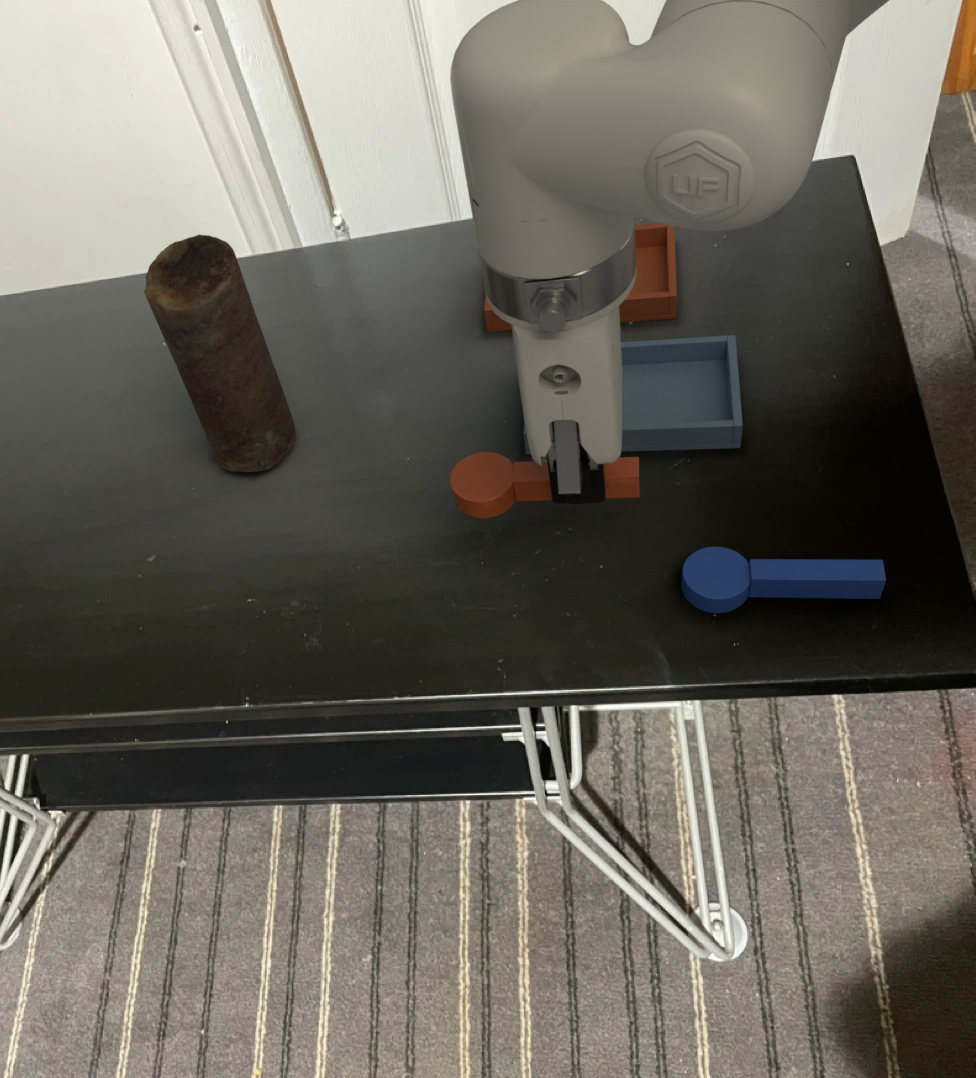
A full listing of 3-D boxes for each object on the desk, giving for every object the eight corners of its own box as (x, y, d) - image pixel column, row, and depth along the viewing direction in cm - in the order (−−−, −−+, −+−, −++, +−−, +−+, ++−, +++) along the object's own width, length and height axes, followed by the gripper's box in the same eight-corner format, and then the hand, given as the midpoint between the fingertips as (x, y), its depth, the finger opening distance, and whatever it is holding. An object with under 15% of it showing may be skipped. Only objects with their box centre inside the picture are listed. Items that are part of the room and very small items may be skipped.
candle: (313, 419, 89) (247, 232, 74) (287, 485, 86) (212, 303, 71) (233, 414, 93) (155, 234, 77) (206, 478, 89) (117, 302, 74)
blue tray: (733, 358, 81) (735, 334, 79) (740, 448, 76) (742, 425, 74) (531, 369, 86) (529, 347, 84) (526, 454, 81) (523, 433, 79)
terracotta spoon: (639, 462, 67) (638, 440, 65) (640, 514, 64) (639, 492, 63) (457, 470, 71) (452, 449, 69) (451, 519, 68) (446, 498, 67)
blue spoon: (874, 561, 68) (880, 542, 66) (882, 616, 65) (889, 598, 64) (680, 561, 72) (681, 542, 70) (682, 613, 69) (683, 595, 68)
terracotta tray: (673, 245, 90) (674, 221, 88) (676, 318, 85) (677, 295, 83) (494, 261, 95) (491, 239, 93) (487, 332, 90) (483, 310, 88)
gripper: (636, 363, 47) (643, 587, 61) (635, 154, 55) (640, 392, 69) (469, 375, 49) (512, 587, 63) (492, 174, 58) (526, 399, 72)
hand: (579, 484), depth 66 cm, fingers closed on terracotta spoon, 1 cm apart
